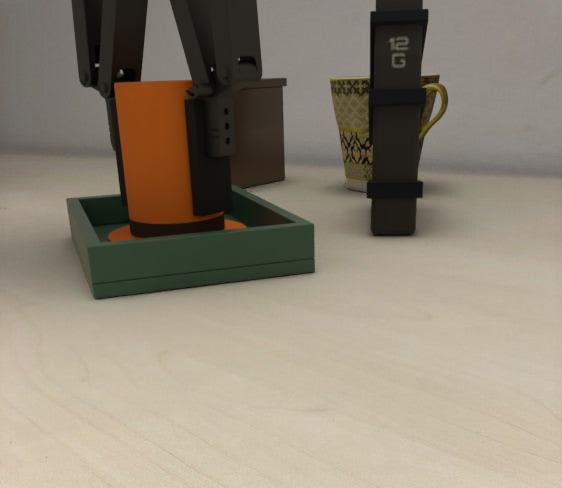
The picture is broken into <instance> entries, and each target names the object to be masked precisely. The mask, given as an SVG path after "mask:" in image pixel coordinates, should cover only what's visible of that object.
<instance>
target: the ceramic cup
mask: <svg viewBox="0 0 562 488" xmlns="http://www.w3.org/2000/svg"><path fill="white" fill-rule="evenodd" d="M440 77H441V75H440V74H439V73H421V88H424V87H426V88H427V94H426V105H425V109H424V113H423V117H422V120H421V124H420V131H419V159H418V168H419V165H420V162H421V161H420V160H421V156H422V151H423V146H424V142H425V138H426V135H427V134H428V132H429V131H430V130H431V128H433V126H434V125H436V124H437V123H438V122H439V121H440V120H441V119H442V118H443V116H444V115H445V113H446V112H447V110H448V106H449V95H448V91H447V90H448V89H447V88H446V87H445V85H443V84H441V83H439V82H440ZM329 84H330V91H331V93H330V94H331V99H332V106H333V111H334V116H335V120H336V126H337V129H338V134H339V135H338V136H339V141H340V143H339V144H340V149H341V154H342V155H341V156H342V161H343V168H344V176H345V181H346V186H347V189H348V190H354V191H357V192H364V193H367V182H368V180H372V153H373V144H369V115H368V96H369V89H370V74H369V75H344V76H343V75H342V76H331V77H330V78H329ZM437 93H438V94H439V95H440V99H441V104H440V108H439V110H438V112H437V113H436V114H435V116H433V118H431V117H432V113H433V110H434V107H435V103H436V99H437Z"/></svg>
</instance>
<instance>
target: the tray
mask: <svg viewBox="0 0 562 488" xmlns="http://www.w3.org/2000/svg"><path fill="white" fill-rule="evenodd" d="M231 186H232V203H233V209H232V210H228V211H224V219H225V220H231V221H236V222H239V223H241V224H244V225H245V226H246V227H247V228H240V229H230V230H220V231H210V232H200V233H190V234H180V235H170V236H160V237H150V238H141V239H131V240H121V241H111V242H108V235H109V234H110V233H111V232H112V231H114V230H116V229H119V228H121V227H124V226H128V225H129V210H128V207H127V206H122V203H121V195H120V193H117V194H116V193H114V194H101V195H91V196H90V195H89V196H78V197H76V196H75V197H67V198H66V199H65V201H66V208H67V215H68V223H69V229H70V236H71V239H72V241H73V242H72V243H73V244H74V247H75V249H76V253H77V255H78V258H79V260H80V263H81V266H82V269H83V272H84V273H85V277H86V279H87V282H88V285H89V289H90V291H91V293H92V296H93V298H94V300H97V299H105V298H113V297H121V296H129V295H137V294H146V293H152V292H153V293H154V292H161V291H169V290H178V289H186V288H195V287H201V286H211V285H218V284H227V283H234V282H235V283H236V282H241V281H242V282H243V281H250V280H258V279H259V280H260V279H266V278H275V277H284V276H290V275H291V276H292V275H298V274H299V275H300V274H306V273H315V271H316V260H315V257H316V256H315V253H316V252H315V249H316V247H315V224H314V223H313V222H311V221H309V220H306V219H305V218H303V217H301V216H298V215H296V214H295V213H293V212H290V211H288V210H286V209H284V208H282V207H281V206H278V205H276V204H274V203H272V202H270V201H268V200H266V199H264V198H262V197H260V196H258V195H256V194H254V193H252V192H250V191H248V190H245V188H243V189H242V188H240V187H238V186H236V185H231Z"/></svg>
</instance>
